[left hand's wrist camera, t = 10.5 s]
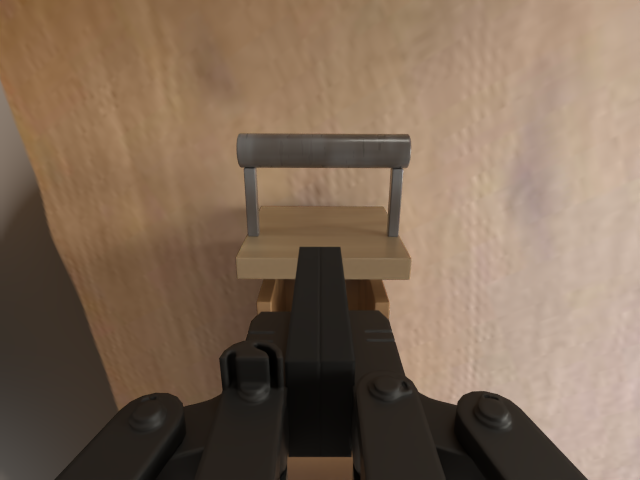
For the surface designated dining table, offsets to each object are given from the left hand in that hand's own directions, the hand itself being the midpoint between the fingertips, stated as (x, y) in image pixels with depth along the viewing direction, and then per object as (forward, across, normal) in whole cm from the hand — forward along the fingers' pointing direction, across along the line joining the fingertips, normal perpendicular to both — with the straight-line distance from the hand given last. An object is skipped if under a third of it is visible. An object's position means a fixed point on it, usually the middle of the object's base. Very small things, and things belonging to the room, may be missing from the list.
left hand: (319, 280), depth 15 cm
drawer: (+14, 0, -7) cm, 16 cm away
